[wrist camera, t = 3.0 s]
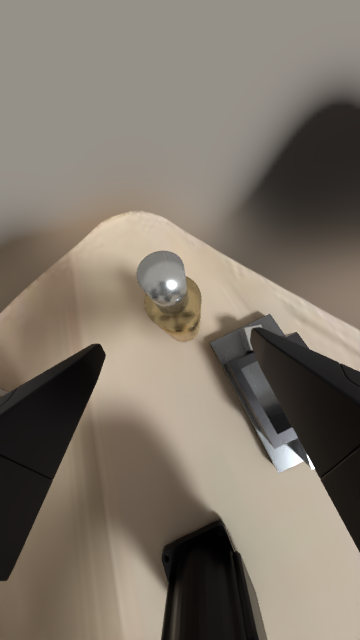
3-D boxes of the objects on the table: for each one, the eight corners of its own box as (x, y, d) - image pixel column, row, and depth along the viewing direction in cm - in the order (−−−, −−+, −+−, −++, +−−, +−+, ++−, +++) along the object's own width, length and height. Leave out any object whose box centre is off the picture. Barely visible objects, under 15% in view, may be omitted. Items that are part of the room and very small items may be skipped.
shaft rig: (273, 465, 14) (297, 498, 11) (209, 343, 18) (212, 340, 15) (344, 430, 14) (390, 453, 11) (265, 316, 18) (281, 306, 15)
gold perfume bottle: (176, 347, 18) (135, 327, 6) (163, 319, 19) (109, 258, 8) (205, 333, 18) (219, 286, 6) (191, 306, 19) (180, 224, 8)
